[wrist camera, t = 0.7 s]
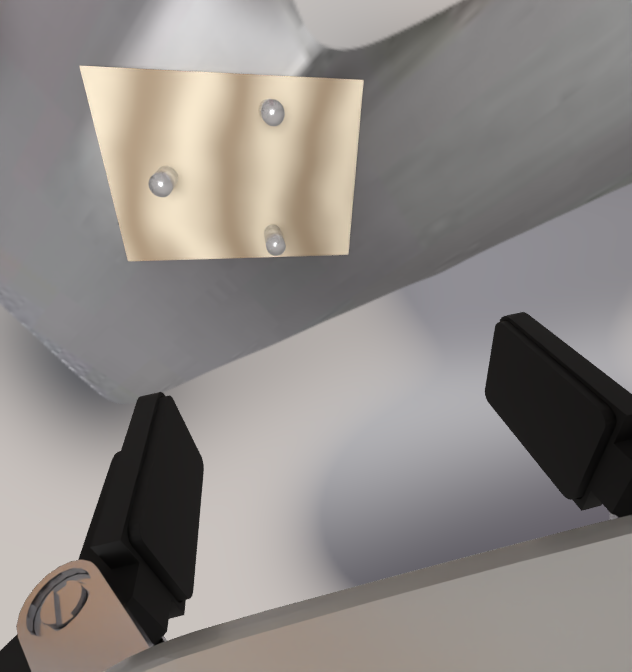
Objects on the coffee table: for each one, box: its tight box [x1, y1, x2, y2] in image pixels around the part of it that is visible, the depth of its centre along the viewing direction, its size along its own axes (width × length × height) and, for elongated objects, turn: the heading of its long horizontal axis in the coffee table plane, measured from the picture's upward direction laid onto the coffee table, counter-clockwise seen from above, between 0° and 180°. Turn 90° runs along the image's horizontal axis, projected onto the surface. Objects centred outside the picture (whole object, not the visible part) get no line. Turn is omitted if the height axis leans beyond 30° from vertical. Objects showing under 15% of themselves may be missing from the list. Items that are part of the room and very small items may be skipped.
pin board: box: [80, 66, 363, 261], centre depth 30 cm, size 20×14×5 cm
